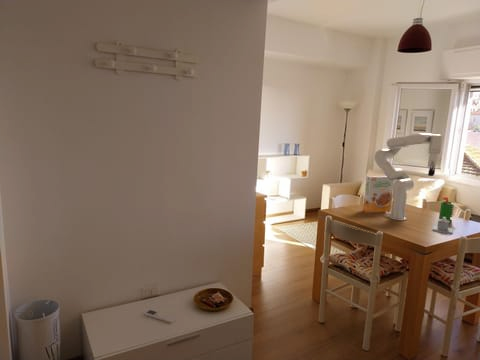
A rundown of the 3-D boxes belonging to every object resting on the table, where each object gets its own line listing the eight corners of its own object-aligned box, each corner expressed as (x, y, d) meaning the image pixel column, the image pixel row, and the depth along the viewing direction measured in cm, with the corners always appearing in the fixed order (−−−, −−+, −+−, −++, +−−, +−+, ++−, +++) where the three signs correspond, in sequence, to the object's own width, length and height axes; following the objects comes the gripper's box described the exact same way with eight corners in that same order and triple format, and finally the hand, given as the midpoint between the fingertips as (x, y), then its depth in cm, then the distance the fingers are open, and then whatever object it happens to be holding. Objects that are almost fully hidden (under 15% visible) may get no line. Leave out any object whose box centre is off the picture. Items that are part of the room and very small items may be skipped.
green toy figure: (453, 224, 261) (457, 199, 258) (441, 223, 263) (444, 198, 260) (448, 220, 271) (452, 196, 268) (436, 219, 273) (439, 195, 269)
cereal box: (367, 212, 289) (370, 177, 284) (362, 210, 295) (366, 176, 290) (390, 211, 295) (394, 177, 290) (385, 209, 301) (389, 175, 295)
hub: (437, 227, 245) (438, 220, 244) (438, 225, 250) (438, 218, 249) (447, 229, 241) (448, 222, 240) (448, 227, 246) (449, 220, 245)
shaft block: (432, 230, 244) (434, 217, 242) (433, 226, 254) (435, 214, 252) (451, 234, 238) (453, 220, 236) (452, 230, 247) (454, 217, 246)
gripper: (429, 150, 255) (426, 173, 258) (427, 151, 241) (424, 175, 244) (441, 151, 251) (438, 174, 254) (439, 152, 237) (436, 177, 240)
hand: (431, 175), depth 249 cm, fingers open, 9 cm apart
